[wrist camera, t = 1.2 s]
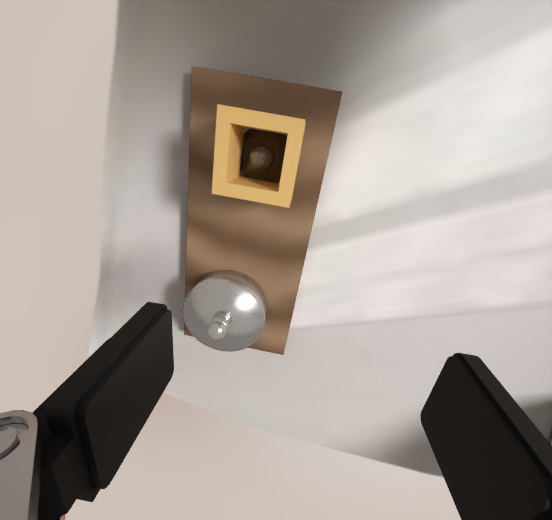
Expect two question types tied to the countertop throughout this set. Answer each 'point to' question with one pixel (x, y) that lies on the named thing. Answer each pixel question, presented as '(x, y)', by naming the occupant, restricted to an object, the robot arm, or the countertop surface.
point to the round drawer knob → (263, 155)
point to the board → (248, 214)
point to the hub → (226, 310)
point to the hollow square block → (230, 154)
